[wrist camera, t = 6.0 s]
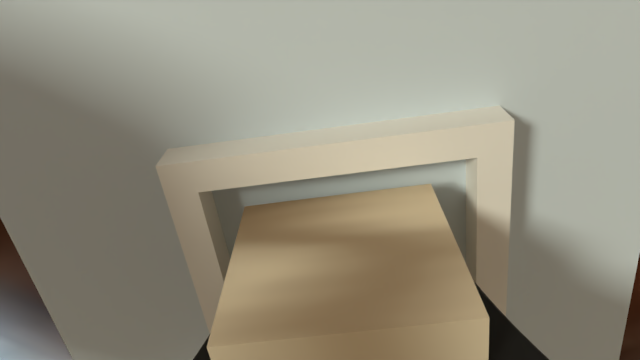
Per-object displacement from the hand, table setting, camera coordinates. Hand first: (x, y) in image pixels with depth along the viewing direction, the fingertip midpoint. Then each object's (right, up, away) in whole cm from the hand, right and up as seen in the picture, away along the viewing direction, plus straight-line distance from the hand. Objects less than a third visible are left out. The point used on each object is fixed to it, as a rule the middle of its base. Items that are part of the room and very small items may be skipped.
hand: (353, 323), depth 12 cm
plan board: (-1, +2, +3) cm, 4 cm away
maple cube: (0, +1, +1) cm, 2 cm away
